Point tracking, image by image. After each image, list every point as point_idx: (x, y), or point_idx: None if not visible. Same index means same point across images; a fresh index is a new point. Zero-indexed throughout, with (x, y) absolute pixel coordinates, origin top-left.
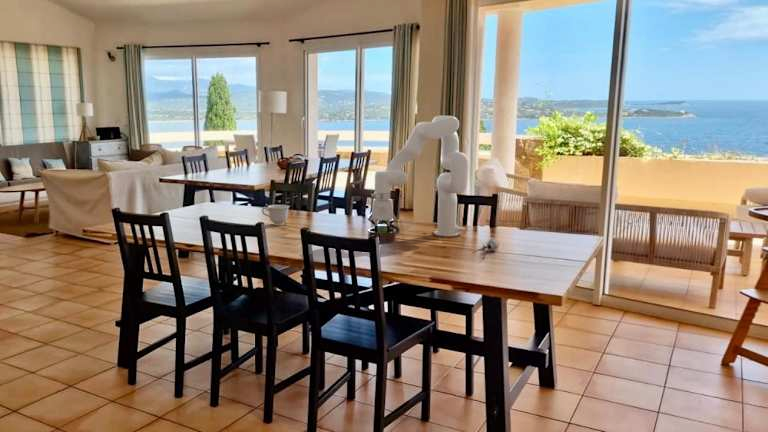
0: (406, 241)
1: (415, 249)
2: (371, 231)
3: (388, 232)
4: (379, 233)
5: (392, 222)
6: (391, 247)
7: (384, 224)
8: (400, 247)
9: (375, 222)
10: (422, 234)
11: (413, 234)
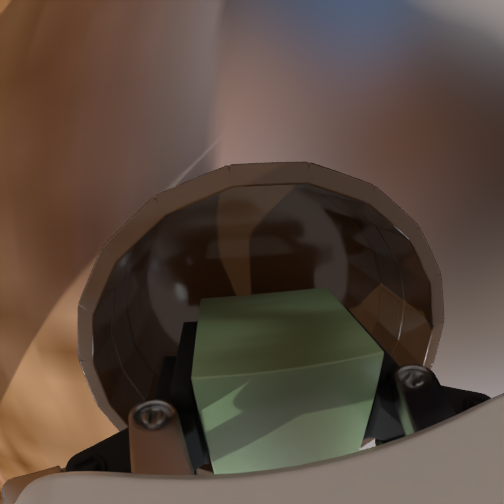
0: (29, 274)
1: (8, 7)
2: (427, 265)
3: (166, 205)
4: (324, 167)
5: (85, 455)
6: (167, 3)
7: (247, 463)
8: (87, 21)
9: (440, 403)
10: (20, 450)
11: (58, 461)
